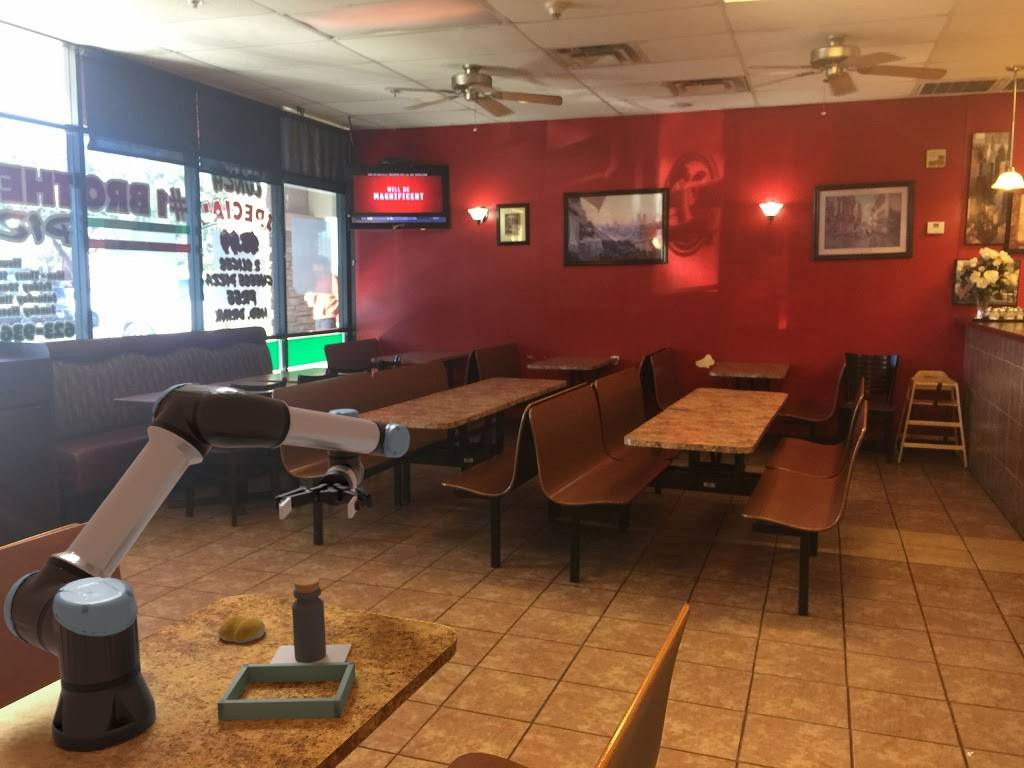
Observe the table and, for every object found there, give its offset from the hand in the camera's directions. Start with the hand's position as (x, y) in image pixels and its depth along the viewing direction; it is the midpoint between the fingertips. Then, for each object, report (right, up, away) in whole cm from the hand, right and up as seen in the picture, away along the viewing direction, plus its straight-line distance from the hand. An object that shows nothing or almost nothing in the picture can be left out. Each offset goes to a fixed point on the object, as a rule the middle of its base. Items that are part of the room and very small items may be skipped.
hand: (315, 512), depth 165 cm
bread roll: (-16, -26, +5) cm, 31 cm away
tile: (+1, -27, -6) cm, 28 cm away
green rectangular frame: (+1, -29, -21) cm, 36 cm away
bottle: (+1, -27, -6) cm, 27 cm away
